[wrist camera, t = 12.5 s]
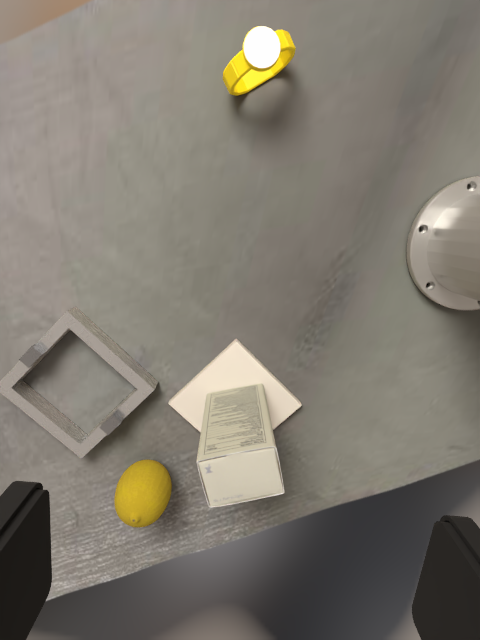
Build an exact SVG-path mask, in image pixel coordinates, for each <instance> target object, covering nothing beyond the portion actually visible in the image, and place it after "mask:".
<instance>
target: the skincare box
mask: <svg viewBox="0 0 480 640" xmlns="http://www.w3.org/2000/svg"><path fill="white" fill-rule="evenodd" d="M197 466H198V471H199V474H200V479H201V482H202V486H203V490H204V493H205V497H206V500H207V503H208V506H209V507H210V508H213V507H219V506H225V505H231V504H236V503H241V502H246V501H252V500H256V499H261V498H266V497H271V496H276V495H280V494H284V492H285V491H284V485H283V479H282V473H281V467H280V462H279V457H278V452H277V447H276V443H275V438H274V434H273V428H272V424H271V419H270V414H269V409H268V404H267V400H266V395H265V390H264V386H263V384H261V383H260V384H254V385H248V386H243V387H238V388H232V389H227V390H222V391H217V392H213V393H208V394H207V395H206V402H205V409H204V415H203V422H202V429H201V435H200V442H199V449H198V455H197Z"/></svg>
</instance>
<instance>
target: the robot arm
mask: <svg viewBox="0 0 480 640" xmlns="http://www.w3.org/2000/svg"><path fill="white" fill-rule="evenodd" d="M467 185H468V189H467ZM419 227H421V231H420V232H419ZM406 251H407V264H408V268H409V272H410V274H411V277H412V279H413V281H414V283H415V284H416V286H417V287H418V288H419V290H420V291H421V292H422V293H423V294H424V295H425V296H427V297H428V298H429V299H430V300H432V301H434V302H436V303H438V304H440V305H442V306H445V307H448V308H451V309H457V310H478V309H480V176H475V177H470V178H466V179H461V180H459V181H457V182H454V183H452V184H449V185H448V186H446V187H445V188H443V189H441V190H440V191H438V192H437V193H436V194H435V195H434V196H433V197H431V198H430V199H429V200H428V201H427V202H426V204H425V205H424V206H423V207H422V209H421V210H420V211H419V213H418V215H417V216H416V218H415V220H414V222H413V224H412V227H411V230H410V233H409V236H408V242H407V248H406ZM427 283H428V286H427V287H426V284H427ZM51 582H52V568H51V534H50V501H49V492H48V490H43V486H42V484H41V483H36V482H24V481H15V482H13V483H12V484H11V485H10V486H9V487H8V488H7V489H6V490H5V491H4V493H3V494H2V495H1V496H0V640H26V638H27V636H28V634H29V632H30V630H31V628H32V626H33V624H34V622H35V621H36V618H37V617H38V615H39V613H40V611H41V609H42V607H43V605H44V603H45V601H46V599H47V596H48V594H49V591H50V587H51ZM412 615H413V620H414V623H415V626H416V628H417V630H418V633H419V635H420V637H421V640H480V529H479V527H478V526H477V525H476V523H475V522H474V521H473V520H472V519H471V518H468V517H460V516H447V515H446V516H443V517H442V518H441V520H440V521H439V522H438V521H437V522H436V523H435V524H434V527H433V530H432V535H431V538H430V542H429V546H428V549H427V553H426V556H425V560H424V564H423V567H422V571H421V575H420V579H419V583H418V586H417V590H416V593H415V597H414V601H413V605H412Z"/></svg>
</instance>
